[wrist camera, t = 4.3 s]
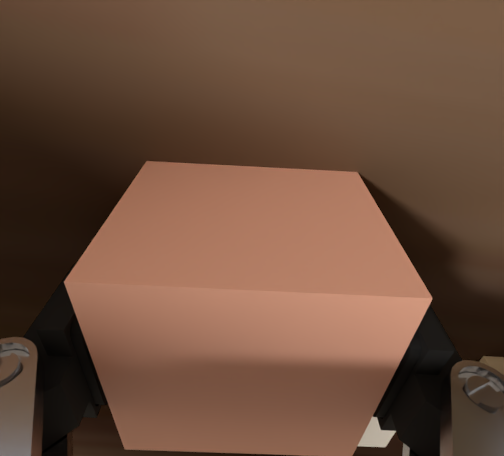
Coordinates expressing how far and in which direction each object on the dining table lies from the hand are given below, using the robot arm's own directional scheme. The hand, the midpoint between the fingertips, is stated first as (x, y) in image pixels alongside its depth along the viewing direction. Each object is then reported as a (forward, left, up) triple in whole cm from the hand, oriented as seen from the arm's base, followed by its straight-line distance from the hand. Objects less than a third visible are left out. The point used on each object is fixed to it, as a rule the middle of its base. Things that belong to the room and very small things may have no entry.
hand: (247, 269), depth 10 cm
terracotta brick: (0, 0, -1) cm, 1 cm away
